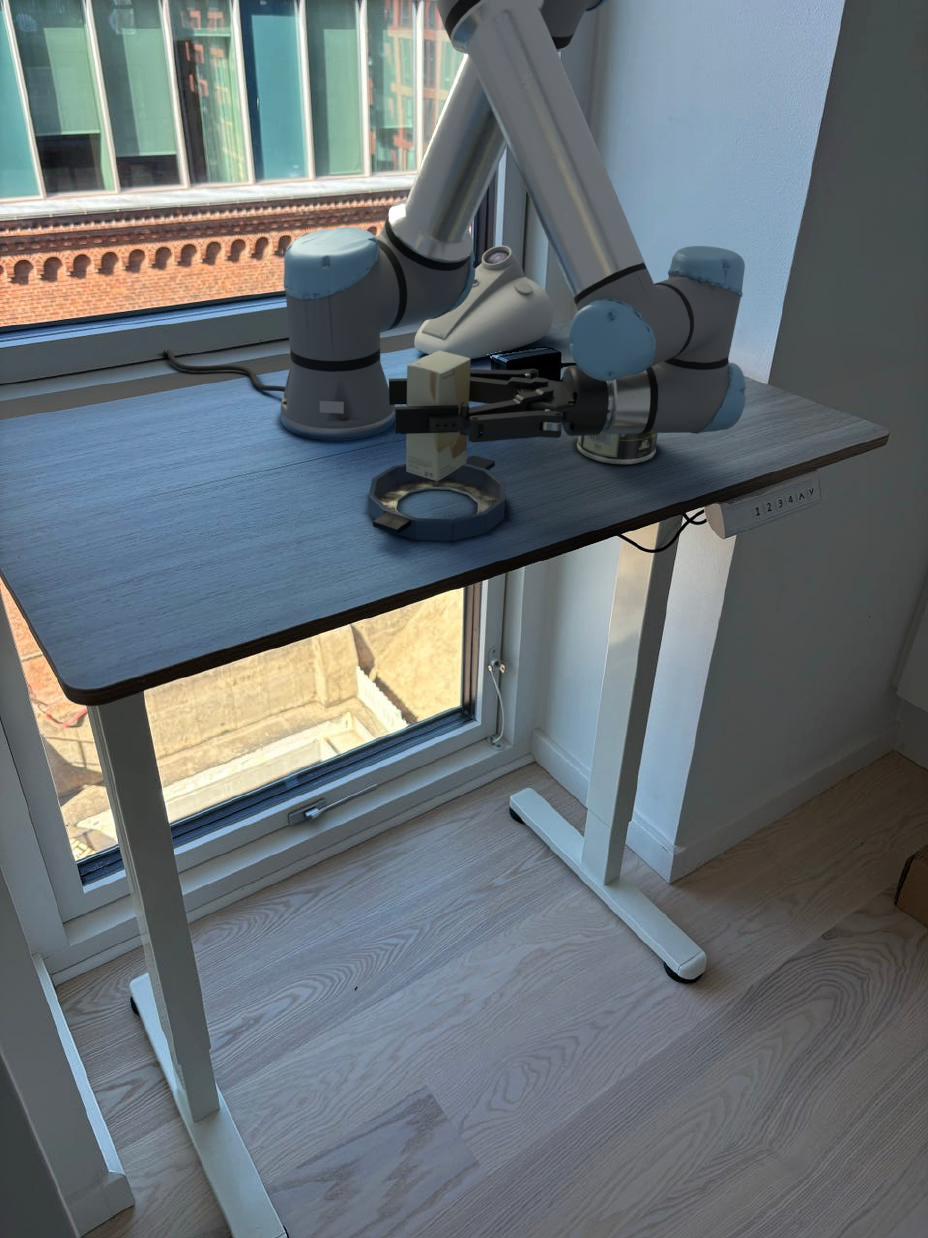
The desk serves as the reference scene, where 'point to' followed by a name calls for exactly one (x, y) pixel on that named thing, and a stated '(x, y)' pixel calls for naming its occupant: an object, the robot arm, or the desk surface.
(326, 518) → the desk surface
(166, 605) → the desk surface
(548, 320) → the projector
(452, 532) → the handled polygonal ring
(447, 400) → the cosmetic box
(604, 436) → the coffee can
